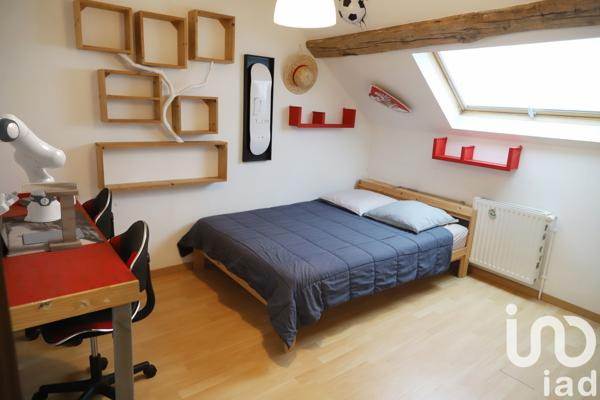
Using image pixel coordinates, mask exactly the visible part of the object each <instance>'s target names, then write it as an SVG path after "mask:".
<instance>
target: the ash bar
mask: <svg viewBox="0 0 600 400" xmlns="http://www.w3.org/2000/svg"><path fill="white" fill-rule="evenodd" d="M77 186H78V185H77V181H76V180H73V181H72V180H70V181H68V180H67V181H54V182H46V183H30V182H29V183H27V182H26V183H21V189H22V190H21V191H22V193H31V192H33V191H50V190H67V189H77ZM77 190H78V189H77Z"/></svg>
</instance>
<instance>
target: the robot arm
mask: <svg viewBox="0 0 600 400" xmlns="http://www.w3.org/2000/svg"><path fill="white" fill-rule="evenodd" d="M0 143H8V144H10V145H11V146H12V147H13V149H15V151H14V153H13V158H14V161H15V163H16V164H17V165H19V166H20V167H21V168H22V169H23V171H24V172H25V174H26V176H27V178H28V181H29V183H46V182H55V178H54V177H53V176H52V175H50V174H49V173H48V172H47V170H46V169H48V170H49V169H50V170H53V169H59V168H62V167H63V166H64V165H65V164H66V161H67V156H66V154H65V152H64V150H62V149H59V148H57V147H55V146H52V145H50V143H47V142H46V141H45V140H43V139H41V138H39V137H38V136H37V135H36V134H35V133H34V132H33V131H32V130H31V129H30V128H29V127H28V126H27V124H25V123H24V122H23V121H22V120H21V119H20V118H18V117H17V116H15V115H14V114H11V113H2V114H0ZM18 195H19V192H18V191H17V190H13V191H12V192H9V193H7V194H5V193H3V192H2V193H0V216H2V215H3V214H6V213H7V212H9V211H10V207H11V206H12V205H13V204H15V203H16V202H18V201H20V198H19V196H18ZM29 197H30V200H31V203H30V204H29V205H28V206H27V207H26V211H28V212H27V215H26V216H25V217H24V222H32V223H47V222H48V223H50V222H55V221H59V220H61V210H60V201H58V200H57V199H58V197H48V198H46V195H45V193H44V191H33V192H30V194H29Z"/></svg>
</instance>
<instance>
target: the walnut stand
mask: <svg viewBox="0 0 600 400" xmlns="http://www.w3.org/2000/svg"><path fill="white" fill-rule="evenodd" d="M44 193H45V195H46V198H48V197H57V198H59V203H60V210H61V219H60V221H61V222H60V223H61V230H62V237H60V238H52V239H48V247H49V249H50V252H56V251H57V252H58V251H65V250H72V249H80V248H82V247H83V243H82V241H81V238H80V239H79V237H78V235H76V228H77V224H76V209H75V205H76V204H75V205H74V196H75V197H76V196H79V195H80V194H79V190H78V189H67V190H50V191H44Z"/></svg>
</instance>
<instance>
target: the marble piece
mask: <svg viewBox="0 0 600 400" xmlns="http://www.w3.org/2000/svg"><path fill="white" fill-rule="evenodd" d="M30 203H31V200H30V196H29V197H22V198H19V205H21V206H23V207H25V208H27V206H28V205H29V204H30Z"/></svg>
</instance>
